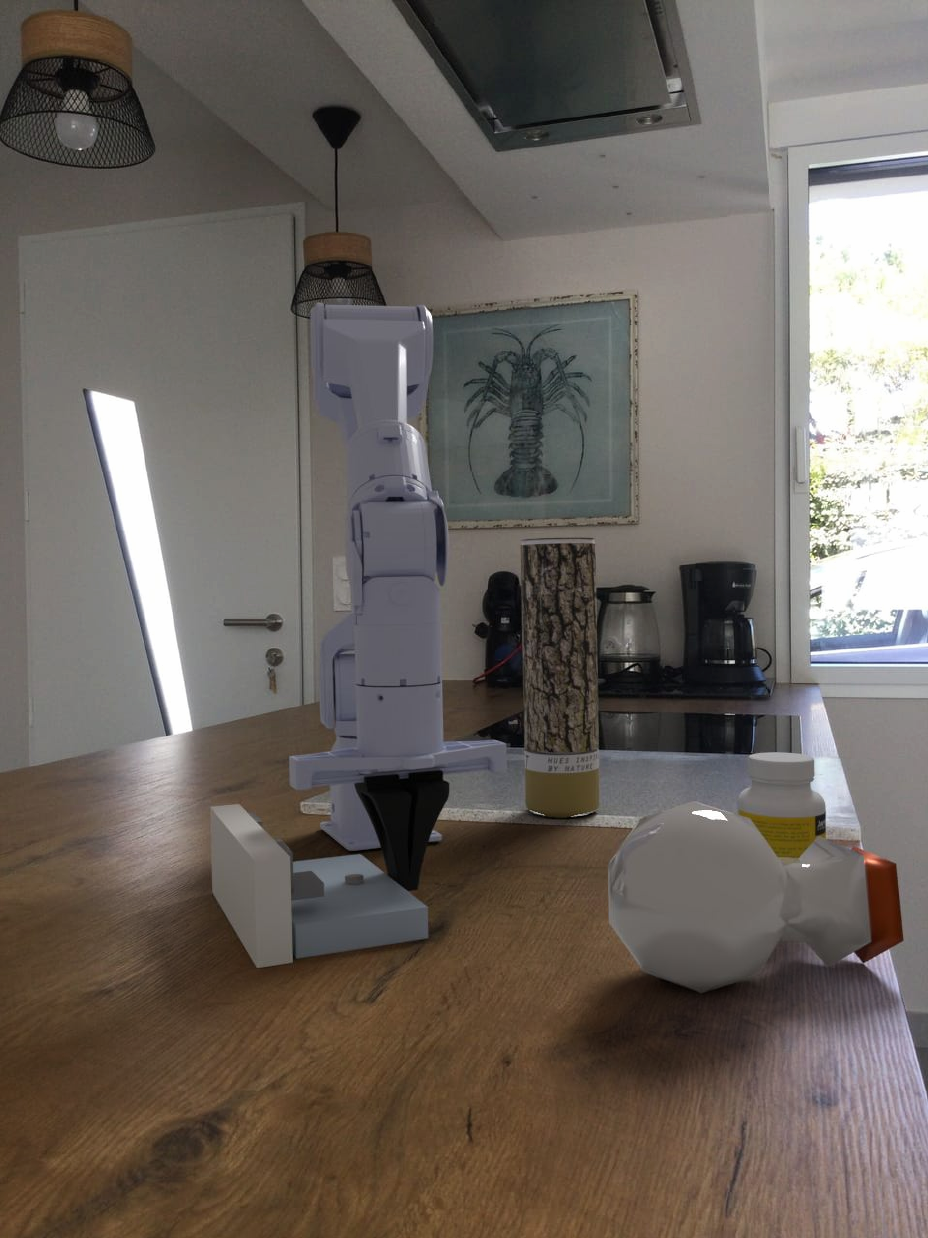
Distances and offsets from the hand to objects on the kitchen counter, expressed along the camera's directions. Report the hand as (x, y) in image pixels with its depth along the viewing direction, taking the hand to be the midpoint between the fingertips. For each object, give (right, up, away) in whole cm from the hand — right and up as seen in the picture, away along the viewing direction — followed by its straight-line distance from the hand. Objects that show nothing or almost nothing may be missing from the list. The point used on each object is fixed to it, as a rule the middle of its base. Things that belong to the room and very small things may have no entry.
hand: (403, 887), depth 70 cm
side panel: (-8, -1, -3) cm, 9 cm away
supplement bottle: (+24, -1, -3) cm, 24 cm away
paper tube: (+13, 0, +27) cm, 30 cm away
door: (-4, -2, -2) cm, 5 cm away
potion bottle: (+19, -1, -14) cm, 24 cm away
